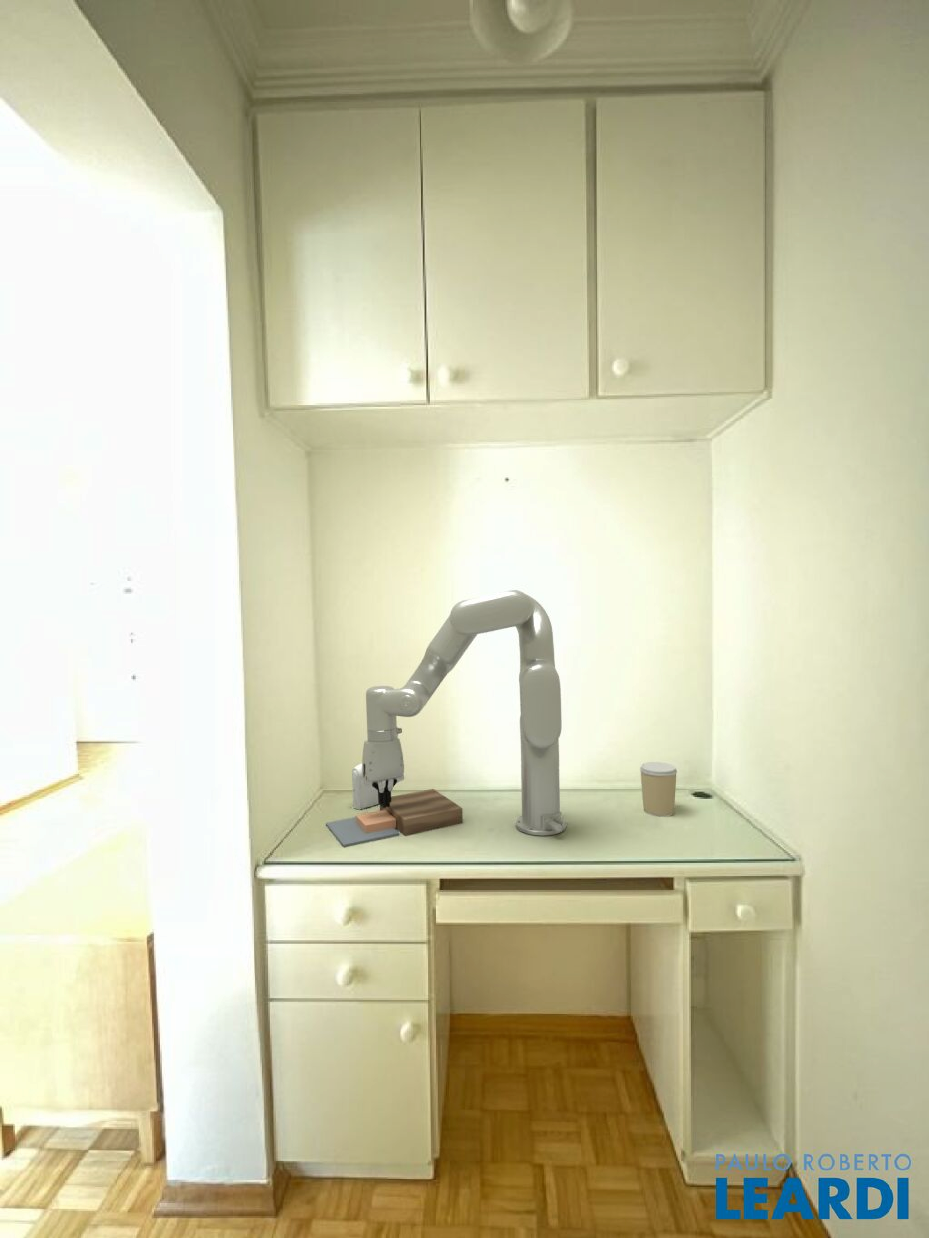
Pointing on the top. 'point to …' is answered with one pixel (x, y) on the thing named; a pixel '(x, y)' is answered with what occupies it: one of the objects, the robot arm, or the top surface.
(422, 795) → the deck
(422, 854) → the top surface
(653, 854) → the top surface
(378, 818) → the tile
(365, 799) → the photo printer
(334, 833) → the mat
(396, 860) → the top surface
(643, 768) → the coffee cup
